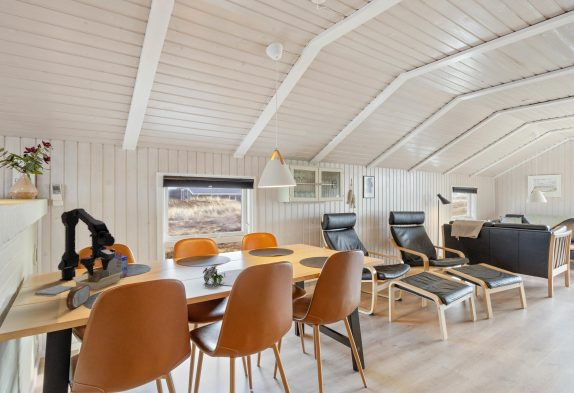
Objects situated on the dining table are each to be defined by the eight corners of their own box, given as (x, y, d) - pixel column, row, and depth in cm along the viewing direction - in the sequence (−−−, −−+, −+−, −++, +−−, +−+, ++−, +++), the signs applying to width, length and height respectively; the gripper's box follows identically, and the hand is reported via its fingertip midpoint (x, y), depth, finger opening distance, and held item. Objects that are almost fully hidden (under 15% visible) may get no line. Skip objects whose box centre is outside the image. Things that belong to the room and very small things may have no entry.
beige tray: (72, 288, 170) (72, 277, 170) (96, 280, 185) (96, 270, 185) (101, 290, 166) (101, 279, 166) (123, 281, 182) (123, 271, 182)
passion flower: (206, 293, 176) (198, 273, 180) (224, 286, 182) (216, 267, 186) (210, 286, 167) (202, 266, 172) (229, 279, 173) (220, 259, 178)
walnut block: (88, 284, 174) (87, 272, 174) (95, 282, 179) (95, 269, 179) (102, 285, 172) (102, 272, 172) (109, 283, 177) (109, 270, 177)
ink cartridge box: (128, 276, 193) (128, 252, 193) (122, 278, 188) (121, 254, 188) (114, 275, 195) (113, 251, 195) (107, 278, 190) (107, 253, 190)
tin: (84, 299, 151) (84, 282, 151) (91, 299, 152) (91, 281, 152) (65, 311, 136) (64, 291, 136) (73, 311, 137) (72, 291, 137)
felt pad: (34, 294, 160) (34, 292, 160) (56, 287, 172) (56, 285, 172) (54, 295, 158) (54, 293, 158) (75, 288, 169) (75, 286, 169)
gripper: (97, 248, 165) (97, 278, 165) (122, 242, 183) (123, 270, 183) (78, 247, 167) (79, 277, 167) (105, 242, 185) (106, 269, 185)
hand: (98, 273), depth 176 cm, fingers open, 9 cm apart
